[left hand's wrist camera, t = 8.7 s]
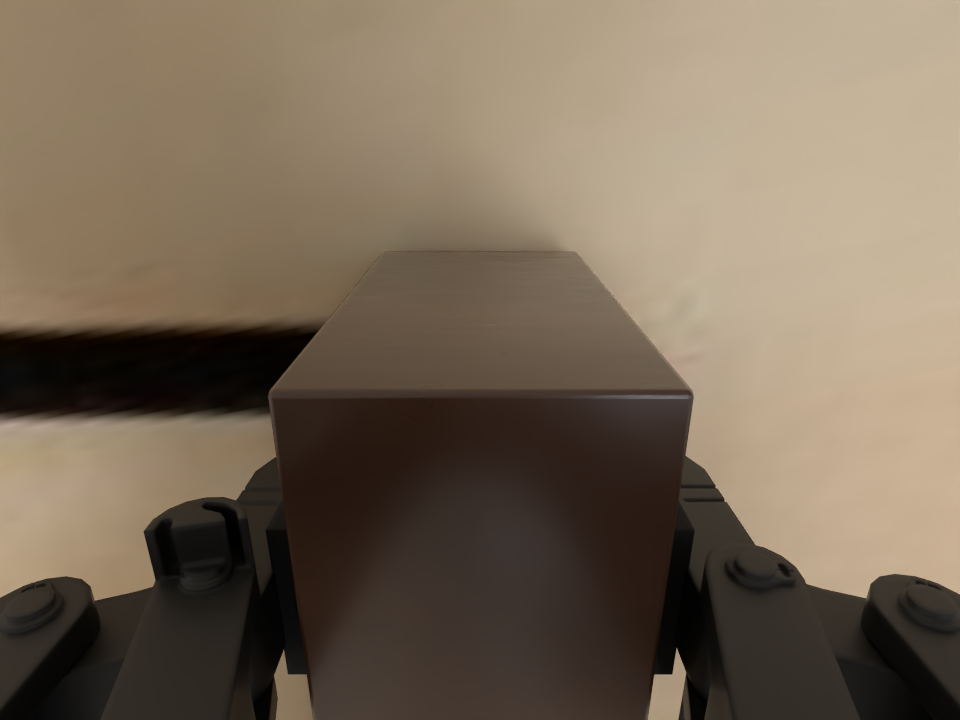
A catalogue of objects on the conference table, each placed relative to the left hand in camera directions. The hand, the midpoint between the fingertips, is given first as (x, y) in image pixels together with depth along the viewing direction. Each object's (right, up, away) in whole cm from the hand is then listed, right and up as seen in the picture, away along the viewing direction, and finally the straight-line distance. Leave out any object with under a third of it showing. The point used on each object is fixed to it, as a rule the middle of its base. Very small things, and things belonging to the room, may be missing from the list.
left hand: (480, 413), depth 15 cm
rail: (0, -8, +4) cm, 9 cm away
